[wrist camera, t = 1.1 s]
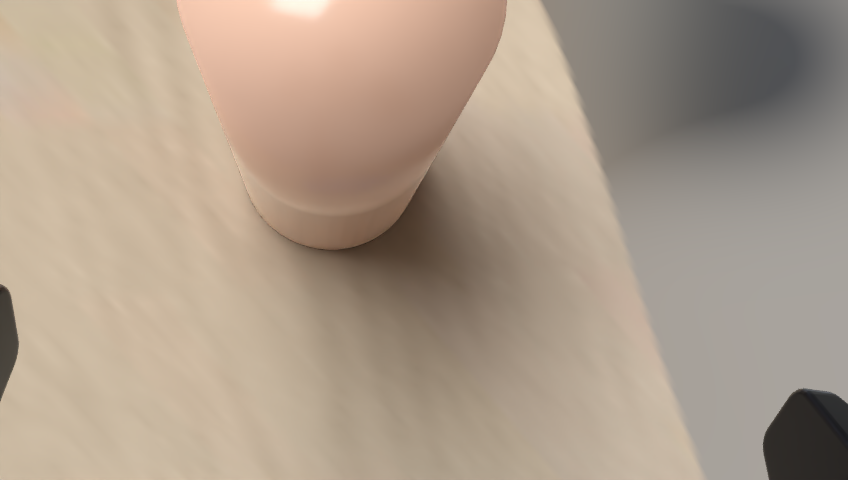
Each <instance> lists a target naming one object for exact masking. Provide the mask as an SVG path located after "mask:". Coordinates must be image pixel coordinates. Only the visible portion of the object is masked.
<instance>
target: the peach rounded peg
mask: <svg viewBox="0 0 848 480" xmlns="http://www.w3.org/2000/svg"><path fill="white" fill-rule="evenodd" d="M506 6H507V0H177V7H178V11H179V14H180V18H181V21H182V25H183V28H184V31H185V33H186V36H187V38H188V41H189V44H190V46H191V49H192V51H193V54H194V56H195V59H196V62H197V64H198V67H199V69H200V72H201V74H202V77H203V80H204V82H205V85H206V87H207V90H208V92H209V95H210V97H211V100H212V103H213V105H214V108H215V110H216V113H217V115H218V118H219V121H220V123H221V126H222V128H223V131H224V133H225V136H226V139H227V141H228V144H229V146H230V149H231V151H232V154H233V156H234V159H235V162H236V164H237V167H238V169H239V172H240V174H241V177H242V180H243V182H244V185H245V187H246V190H247V192H248V195H249V197H250V199H251V201H252V203H253V205H254V207H255V208H256V210H257V211H258V213H259V214H260V215H261V217H262V218H263V219H264V220H265V221H266V222H267V223H268V224H269V225H270V226H271V227H272V228H273V229H274V230H276V231H277V232H278V233H280V234H281V235H283V236H284V237H286V238H288V239H290V240H292V241H294V242H296V243H299V244H301V245H304V246H308V247H312V248H317V249H326V250H336V249H345V248H351V247H355V246H358V245H362V244H364V243H366V242H369V241H371V240H373V239H375V238H376V237H378V236H380V235H381V234H383V233H384V232H385V231H386V230H388V229H389V228H390V227H391V226H392V225H393V224H394V223H395V222H396V221H397V220H398V219H399V218H400V216H401V215H402V213H403V212H404V211H405V209H406V207H407V206H408V204H409V202H410V200H411V199H412V197H413V195H414V194H415V192H416V190H417V188H418V187H419V185H420V183H421V181H422V180H423V178H424V176H425V174H426V173H427V171H428V169H429V168H430V166H431V164H432V162H433V161H434V159H435V157H436V155H437V154H438V152H439V150H440V148H441V147H442V145H443V143H444V142H445V140H446V138H447V136H448V135H449V133H450V131H451V129H452V128H453V126H454V124H455V123H456V121H457V119H458V117H459V116H460V114H461V112H462V110H463V109H464V107H465V105H466V103H467V102H468V100H469V98H470V97H471V95H472V93H473V91H474V90H475V88H476V86H477V84H478V83H479V81H480V79H481V77H482V76H483V74H484V72H485V71H486V69H487V67H488V65H489V63H490V61H491V60H492V58H493V56H494V54H495V51H496V49H497V46H498V43H499V41H500V38H501V35H502V31H503V26H504V22H505V17H506Z"/></svg>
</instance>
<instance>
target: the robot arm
mask: <svg viewBox="0 0 848 480" xmlns="http://www.w3.org/2000/svg"><path fill="white" fill-rule="evenodd" d="M18 347H19V341H18V334H17V328H16V322H15V316H14V311H13V305H12V299H11V295H10V292H9V290H8V289H7V288H6V287H5V286H3V285H1V284H0V401H1V398H2V395H3V393H4V390H5V388H6V385H7V383H8V380H9V378H10V375H11V372H12V370H13V367H14V365H15V362H16V359H17V355H18ZM763 452H764V457H765V462H766V467H767V472H768V477H769V480H848V404H847V403H846V402H845V401H844V400H842V399H841V398H840V397H839V396H837V395H836V394H833V393H831V392H827V391H819V390H812V389H798V390H797V391H795V392H793V393H792V394H791V395H790V397H789V398H788V400H787V401H786V402H785V404H784V405H783V407H782V408H781V410H780V411H779V413H778V414H777V416H776V417H775V419H774V420H773V422H772V423H771V425H770V426H769V427H768V429H767V431H766V433H765V436H764V442H763Z"/></svg>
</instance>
